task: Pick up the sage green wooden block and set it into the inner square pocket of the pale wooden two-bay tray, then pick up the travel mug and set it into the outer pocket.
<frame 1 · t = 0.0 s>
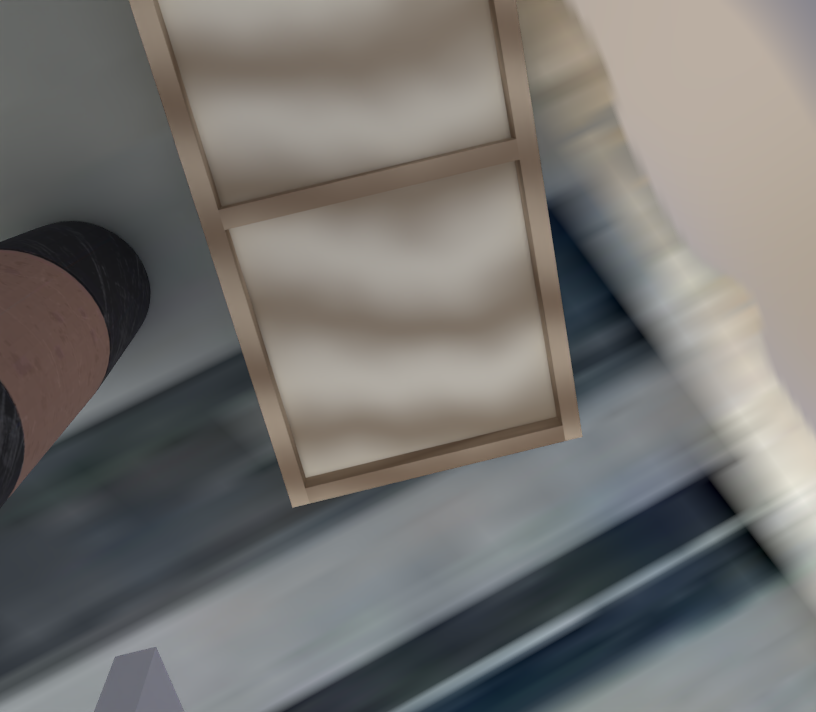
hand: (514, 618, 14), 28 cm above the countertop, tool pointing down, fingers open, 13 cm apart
two-bay tray: (368, 179, 38), on the countertop
travel mug: (82, 287, 39), on the countertop
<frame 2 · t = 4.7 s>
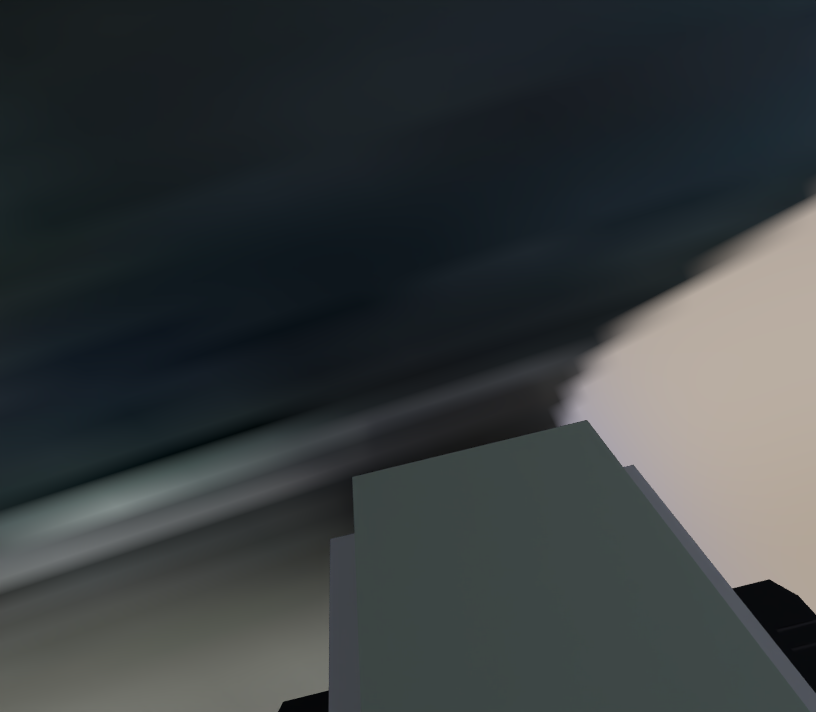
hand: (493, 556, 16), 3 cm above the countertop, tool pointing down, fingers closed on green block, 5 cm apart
green block: (491, 547, 16), point 3 cm above the countertop, touching gripper
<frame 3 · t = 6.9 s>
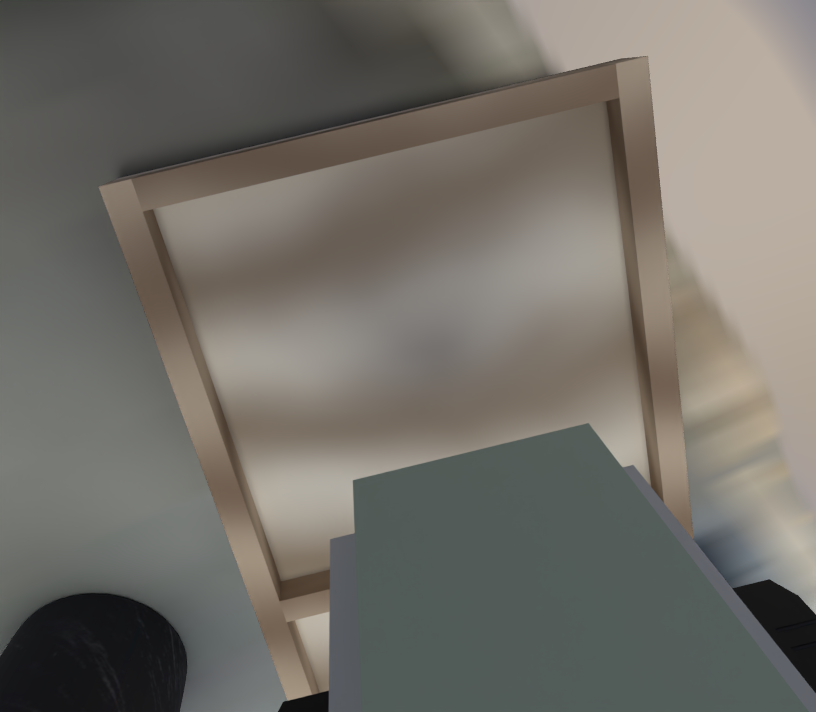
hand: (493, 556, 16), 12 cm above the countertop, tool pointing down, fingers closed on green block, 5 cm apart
green block: (492, 551, 16), point 12 cm above the countertop, touching gripper
two-bay tray: (465, 531, 30), on the countertop
travel mug: (101, 659, 31), on the countertop
when the fingers open (2 cm above the countertop, at t = 8.9 s): green block stays where it is, resting on two-bay tray.
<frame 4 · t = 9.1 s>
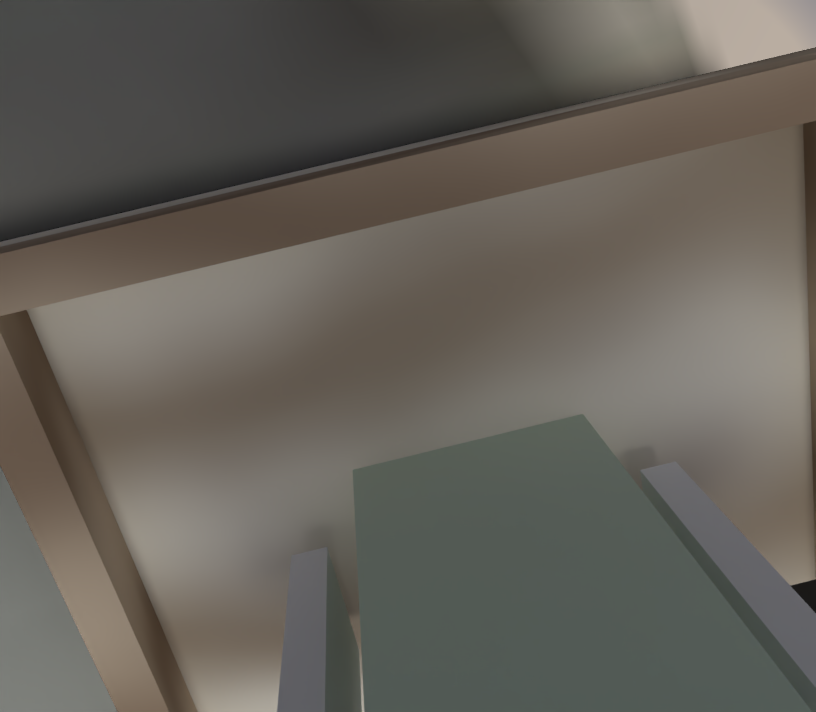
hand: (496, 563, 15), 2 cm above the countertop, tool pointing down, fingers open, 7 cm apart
green block: (488, 539, 16), point 1 cm above the countertop, touching two-bay tray
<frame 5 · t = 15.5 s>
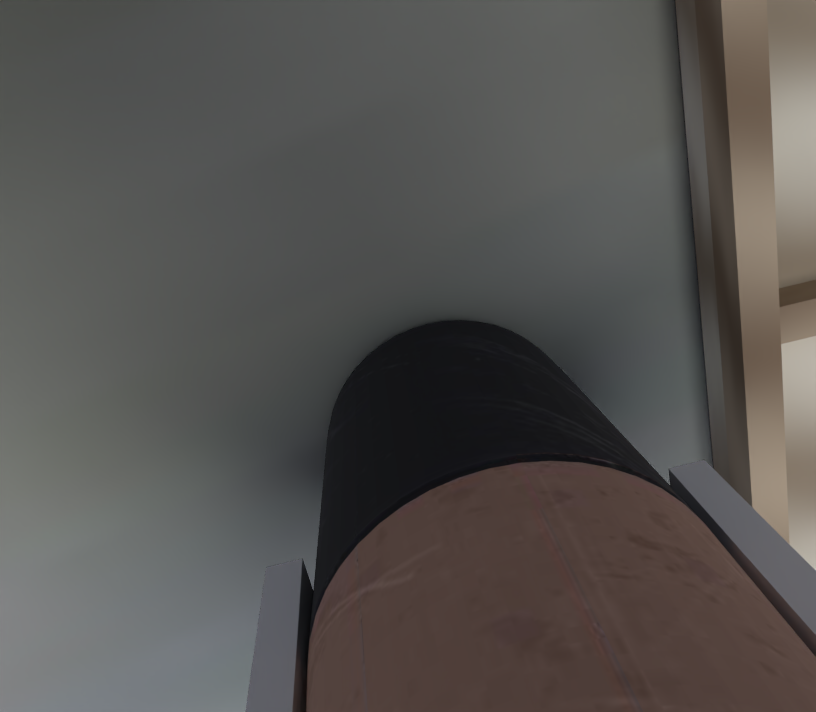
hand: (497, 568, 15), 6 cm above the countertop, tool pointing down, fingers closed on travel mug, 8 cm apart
travel mug: (451, 433, 21), on the countertop, touching gripper
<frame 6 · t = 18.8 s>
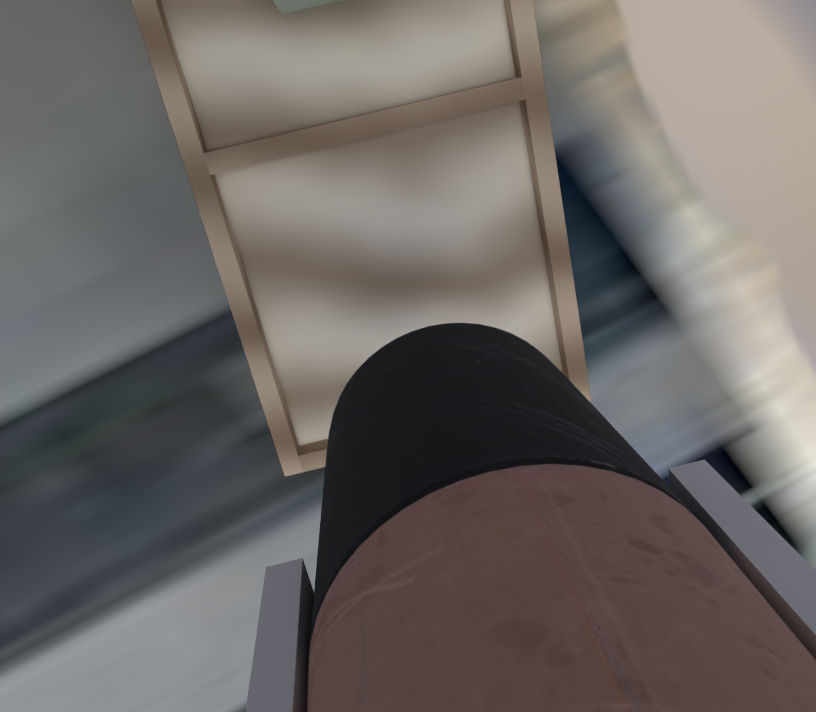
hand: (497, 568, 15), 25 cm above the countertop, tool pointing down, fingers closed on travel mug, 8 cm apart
two-bay tray: (363, 124, 36), on the countertop
travel mug: (451, 435, 21), point 19 cm above the countertop, touching gripper
when the fingers open (8 cm above the countertop, at t = 22.3 s): travel mug stays where it is, resting on two-bay tray.
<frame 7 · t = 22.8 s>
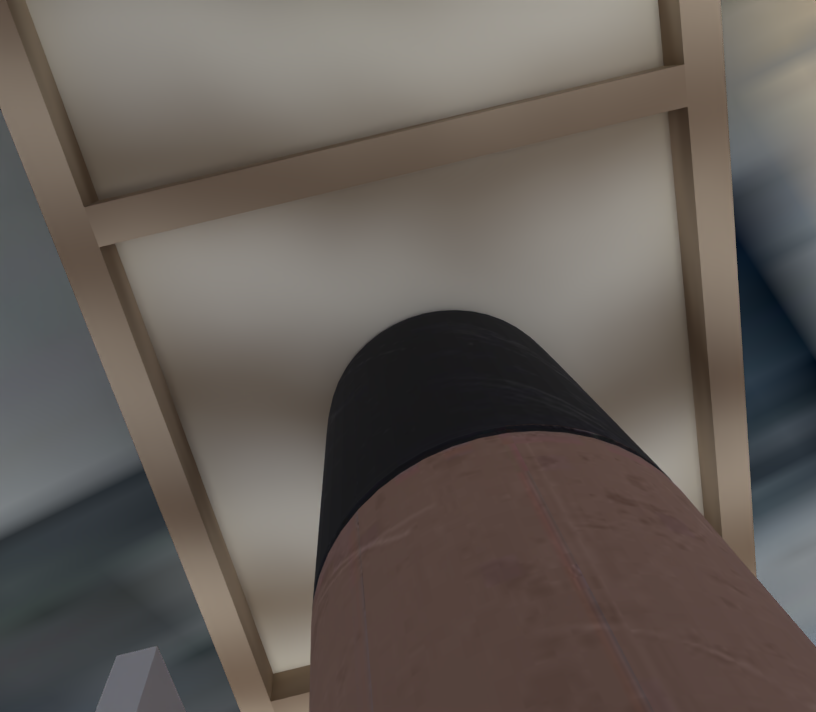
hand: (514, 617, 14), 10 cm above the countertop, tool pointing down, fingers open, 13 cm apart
two-bay tray: (384, 149, 20), on the countertop
travel mug: (446, 419, 22), point 1 cm above the countertop, touching two-bay tray
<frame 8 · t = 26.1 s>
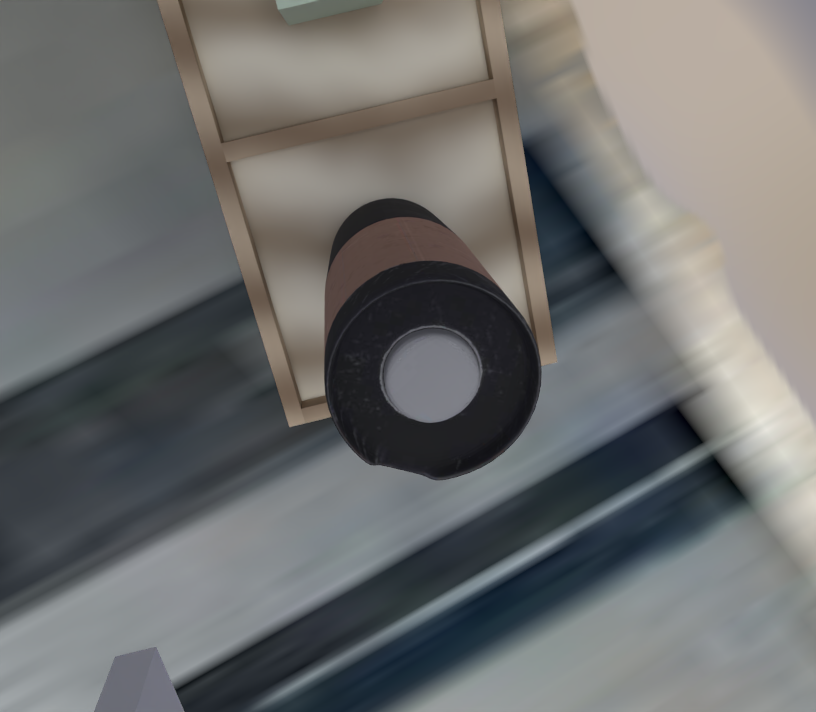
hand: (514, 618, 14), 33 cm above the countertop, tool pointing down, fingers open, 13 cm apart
two-bay tray: (358, 119, 42), on the countertop
travel mug: (391, 257, 44), point 1 cm above the countertop, touching two-bay tray
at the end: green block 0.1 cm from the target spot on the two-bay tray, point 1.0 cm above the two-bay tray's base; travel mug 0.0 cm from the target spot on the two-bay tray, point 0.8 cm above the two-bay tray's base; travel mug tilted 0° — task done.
